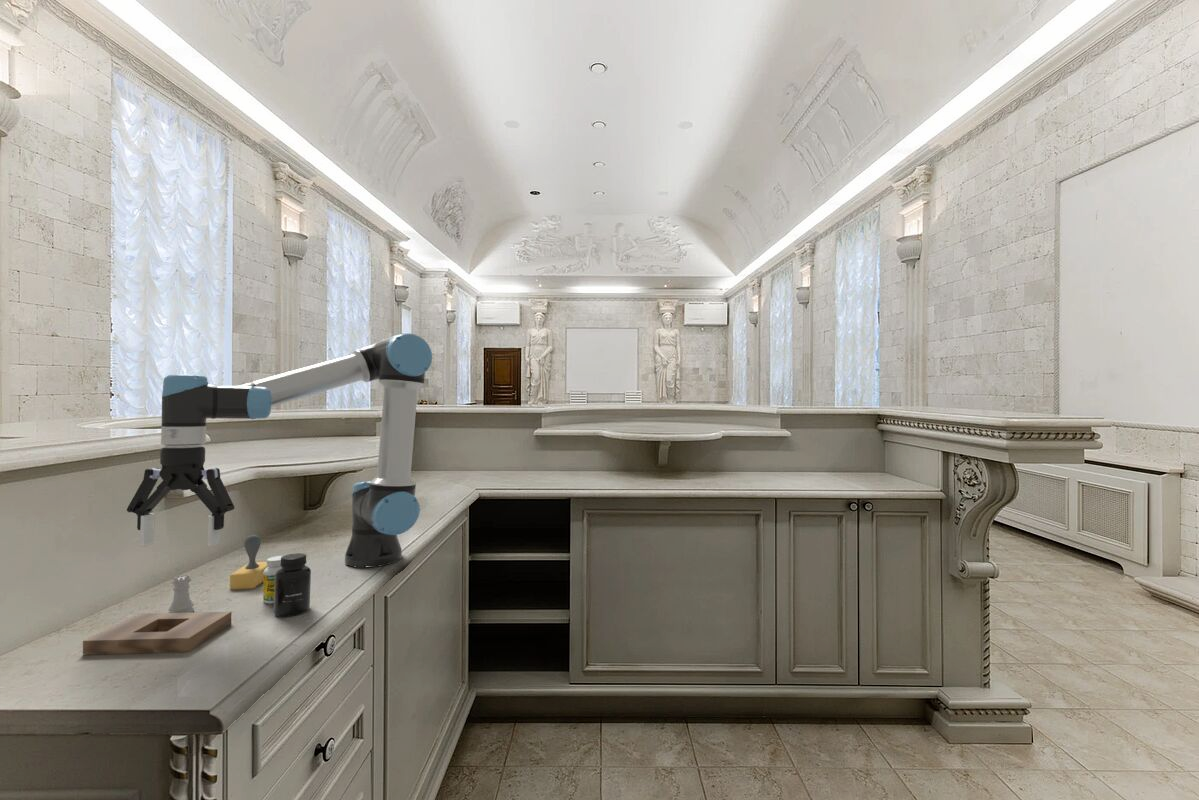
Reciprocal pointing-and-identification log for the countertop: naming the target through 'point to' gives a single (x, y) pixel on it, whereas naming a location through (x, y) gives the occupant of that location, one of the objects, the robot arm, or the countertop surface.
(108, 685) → the countertop surface
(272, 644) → the countertop surface
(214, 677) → the countertop surface
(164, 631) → the walnut socket board
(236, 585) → the rubber stamp
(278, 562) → the supplement bottle
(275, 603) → the supplement bottle
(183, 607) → the rook chess piece
